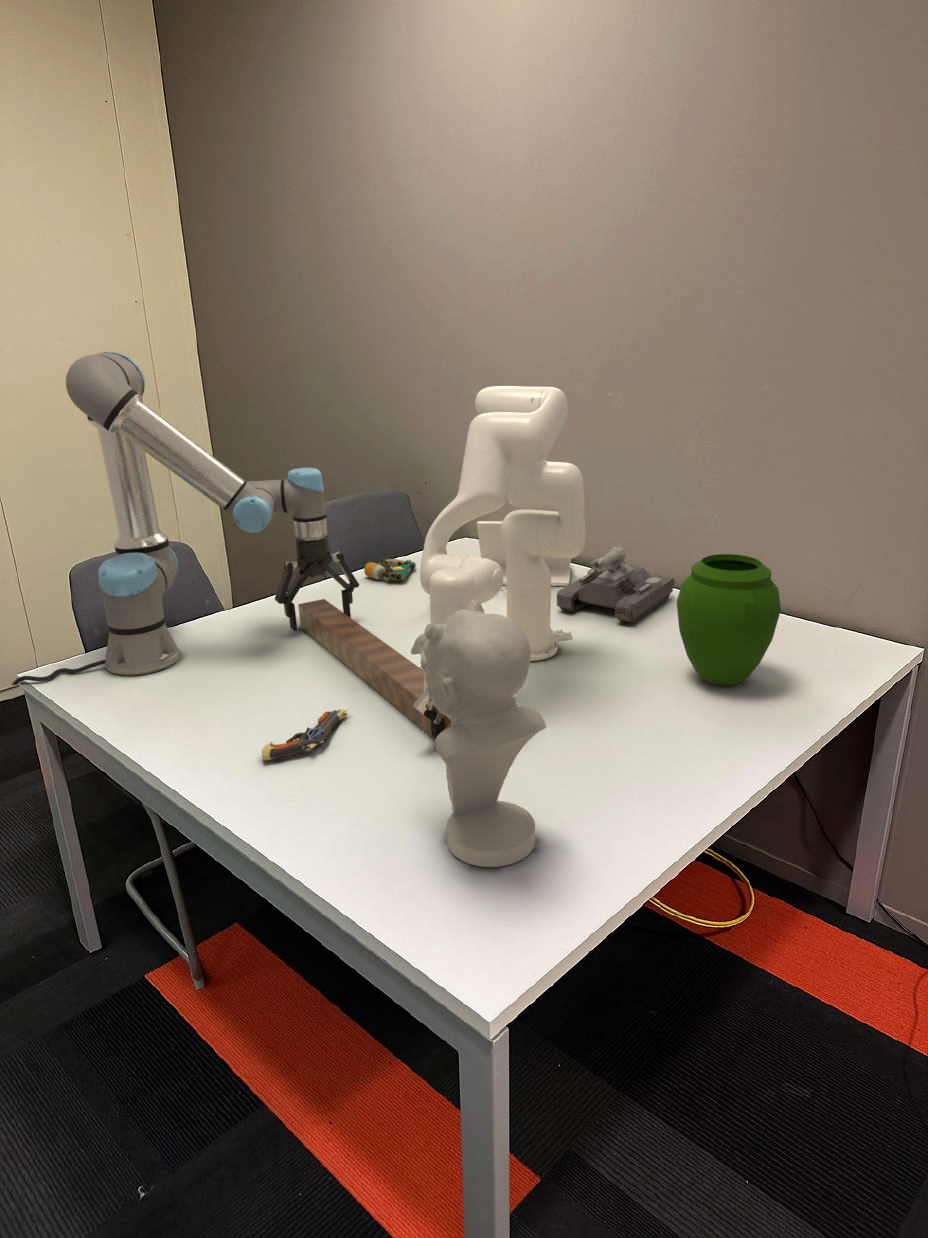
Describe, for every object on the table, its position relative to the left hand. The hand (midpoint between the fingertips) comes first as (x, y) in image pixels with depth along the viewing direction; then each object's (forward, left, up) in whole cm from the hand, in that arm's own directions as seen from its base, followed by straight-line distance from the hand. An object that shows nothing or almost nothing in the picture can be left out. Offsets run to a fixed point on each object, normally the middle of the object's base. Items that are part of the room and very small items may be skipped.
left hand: (321, 623), depth 203 cm
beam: (+3, -32, -2) cm, 32 cm away
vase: (+64, -66, -2) cm, 92 cm away
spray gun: (+30, +32, -2) cm, 44 cm away
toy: (+71, -19, -2) cm, 73 cm away
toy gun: (-17, -52, -2) cm, 55 cm away
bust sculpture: (-3, -91, -2) cm, 91 cm away
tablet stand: (+62, +13, -2) cm, 64 cm away
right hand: (+6, -65, 0) cm, 65 cm away
